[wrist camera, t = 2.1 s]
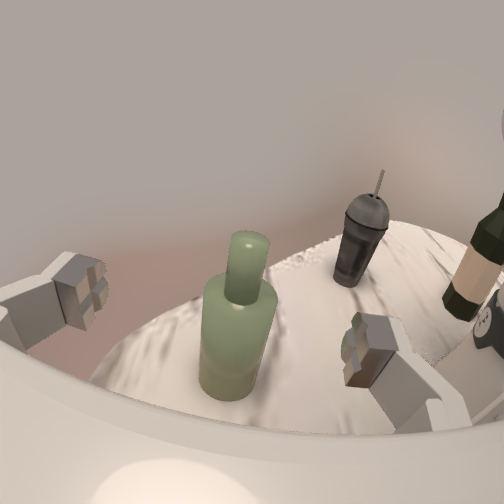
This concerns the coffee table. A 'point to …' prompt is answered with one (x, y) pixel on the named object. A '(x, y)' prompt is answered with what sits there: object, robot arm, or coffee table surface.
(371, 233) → the beverage cup
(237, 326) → the olive glass bottle
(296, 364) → the coffee table surface
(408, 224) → the coffee table surface
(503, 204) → the wine bottle
